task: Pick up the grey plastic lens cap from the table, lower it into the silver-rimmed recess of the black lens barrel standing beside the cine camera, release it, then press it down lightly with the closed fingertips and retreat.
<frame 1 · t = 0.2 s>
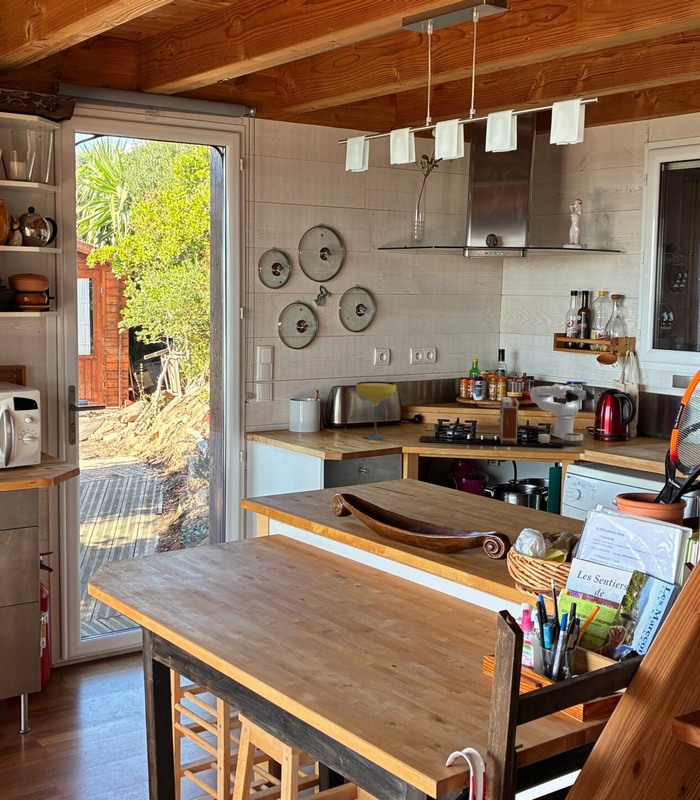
hand: (585, 397, 446), 21 cm above the table, tool horizontal, fingers open, 7 cm apart
cocktail glass: (375, 438, 461), on the table
lens barrel: (572, 444, 449), on the table
lens cap: (543, 442, 453), on the table
cine camera: (507, 441, 455), on the table
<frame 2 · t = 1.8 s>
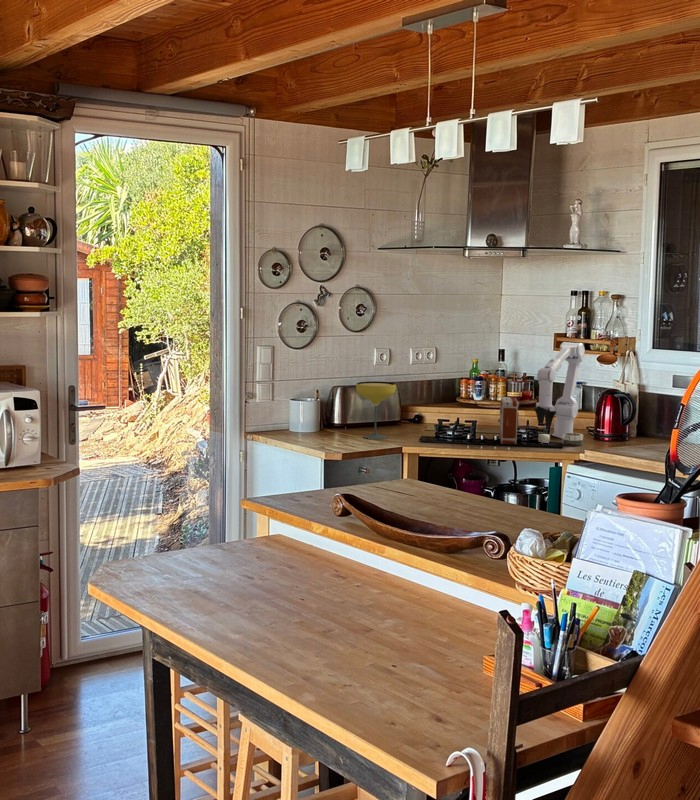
hand: (544, 424, 452), 8 cm above the table, tool pointing down, fingers open, 7 cm apart
nothing on the table moved.
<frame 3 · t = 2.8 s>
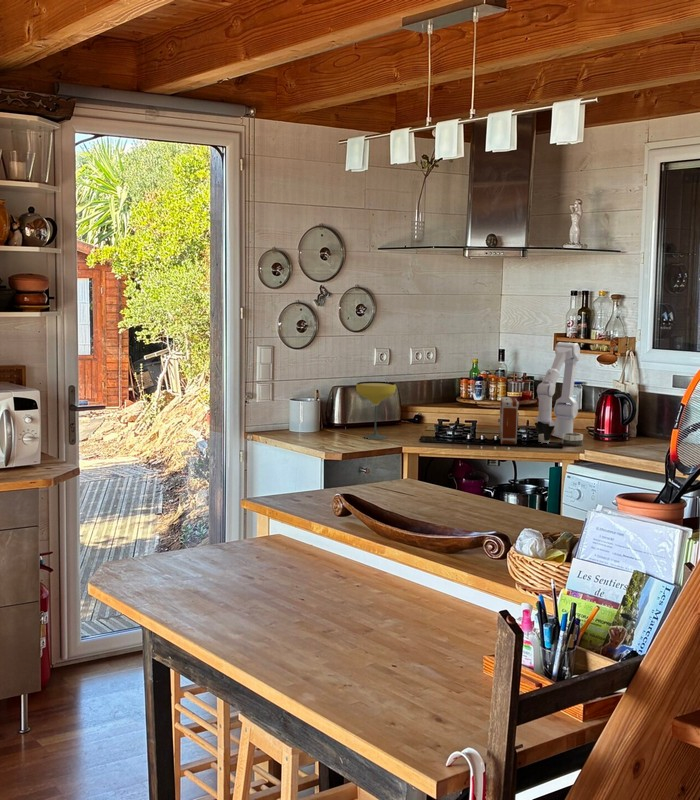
hand: (544, 439, 453), 1 cm above the table, tool pointing down, fingers closed on lens cap, 5 cm apart
lens cap: (543, 442, 453), on the table, touching gripper
everything else where it was.
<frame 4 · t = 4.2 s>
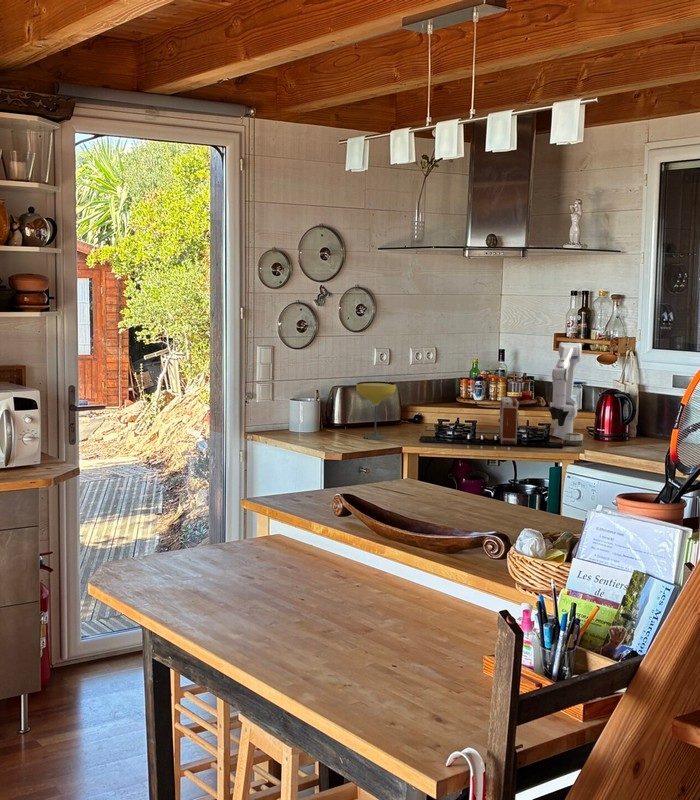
hand: (558, 424, 450), 8 cm above the table, tool pointing down, fingers closed on lens cap, 5 cm apart
lens cap: (557, 428, 450), point 7 cm above the table, touching gripper
everything else where it was.
when the fingers open (5 cm above the table, at t = 5.8 s): lens cap drops 1 cm, resting on lens barrel.
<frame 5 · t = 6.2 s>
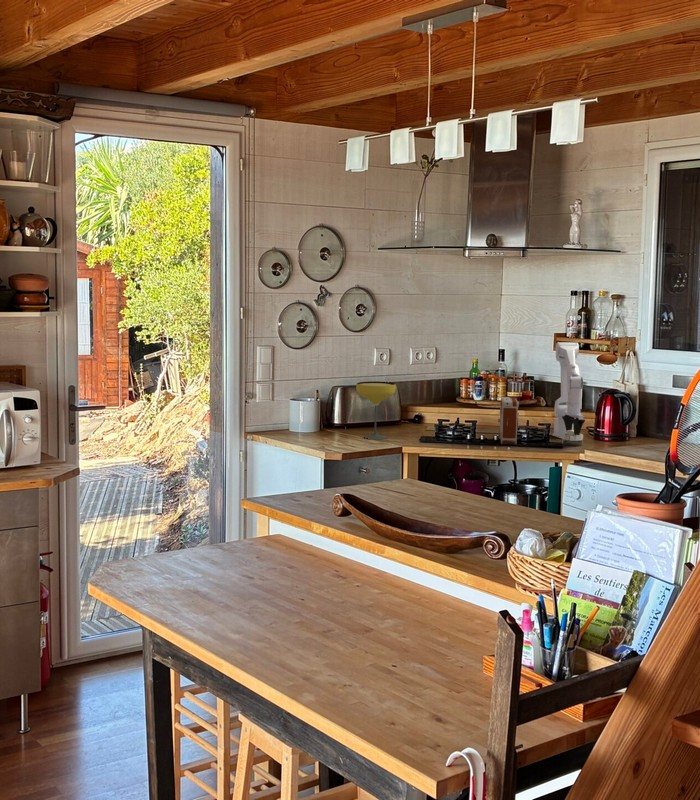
hand: (572, 433, 448), 5 cm above the table, tool pointing down, fingers open, 7 cm apart
lens cap: (572, 438, 449), point 2 cm above the table, touching lens barrel
everything else where it was.
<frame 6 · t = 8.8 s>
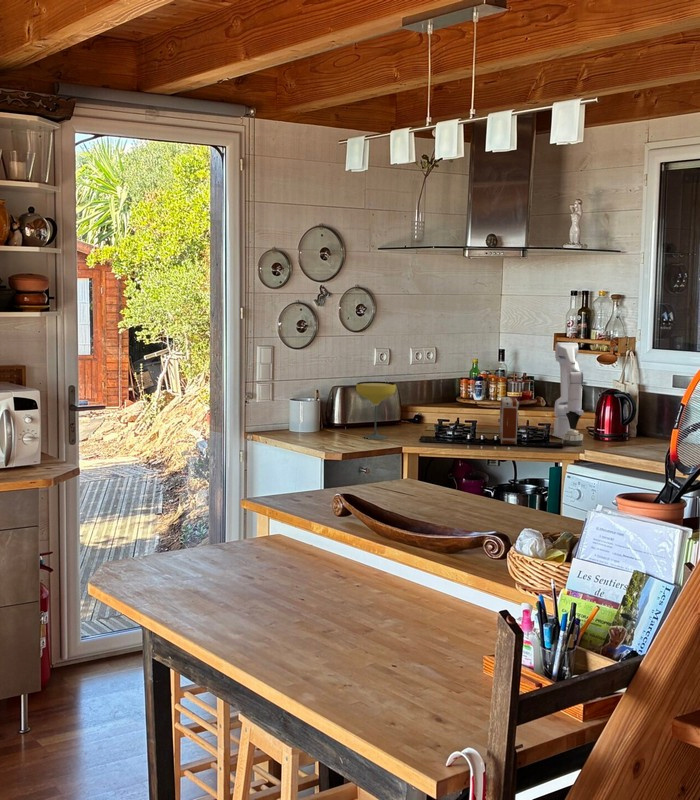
hand: (573, 428, 448), 7 cm above the table, tool pointing down, fingers closed
nothing on the table moved.
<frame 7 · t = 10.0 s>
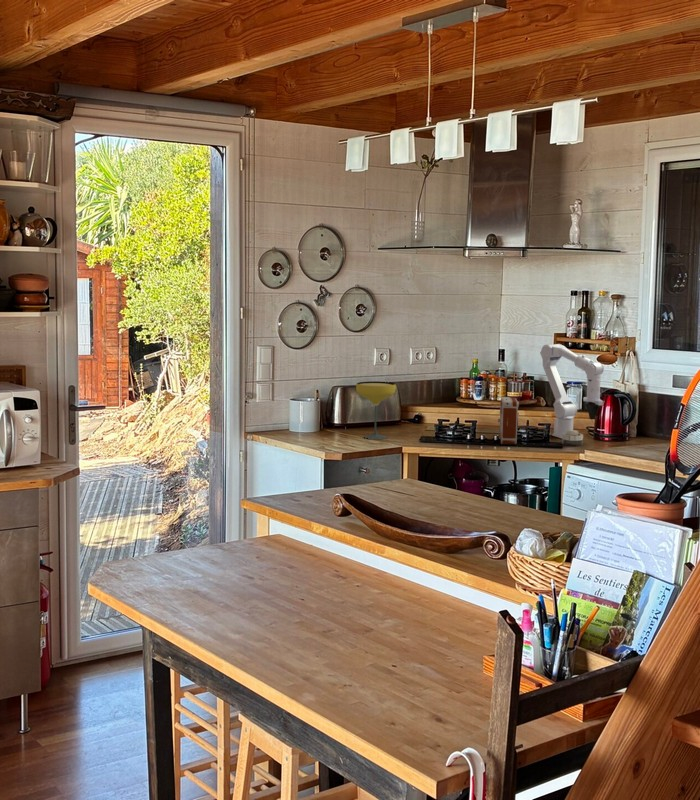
hand: (592, 419, 454), 10 cm above the table, tool pointing down, fingers closed
nothing on the table moved.
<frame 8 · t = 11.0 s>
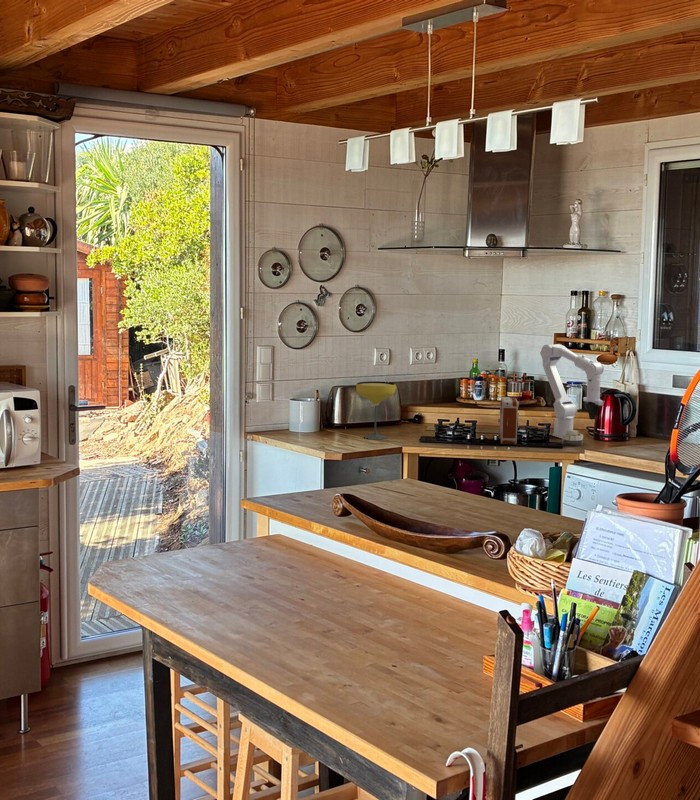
hand: (592, 419, 454), 10 cm above the table, tool pointing down, fingers closed
nothing on the table moved.
at the end: lens cap 0.1 cm off-centre on the lens barrel, point 2.5 cm above the lens barrel's base; lens cap tilted 0°; the gripper is holding nothing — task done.
